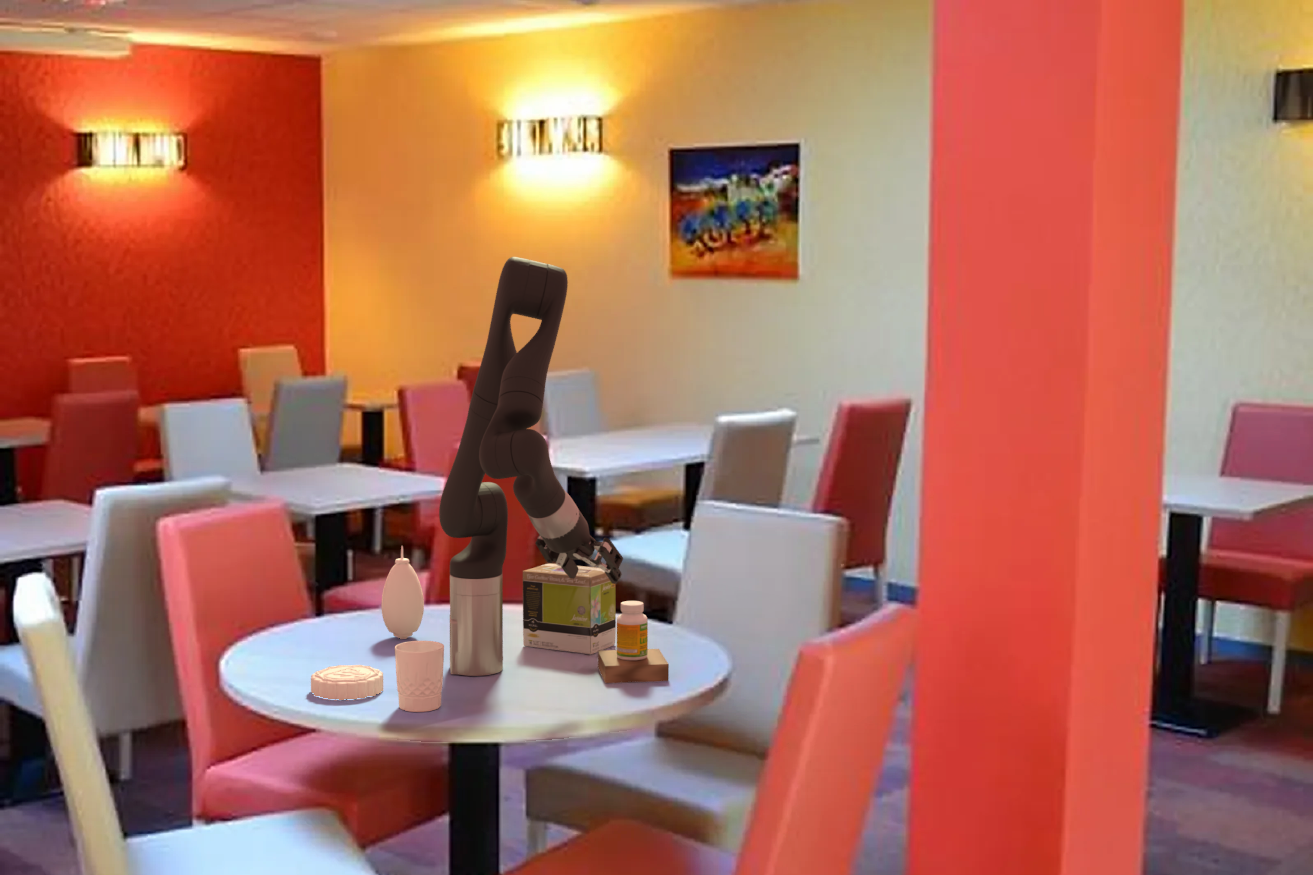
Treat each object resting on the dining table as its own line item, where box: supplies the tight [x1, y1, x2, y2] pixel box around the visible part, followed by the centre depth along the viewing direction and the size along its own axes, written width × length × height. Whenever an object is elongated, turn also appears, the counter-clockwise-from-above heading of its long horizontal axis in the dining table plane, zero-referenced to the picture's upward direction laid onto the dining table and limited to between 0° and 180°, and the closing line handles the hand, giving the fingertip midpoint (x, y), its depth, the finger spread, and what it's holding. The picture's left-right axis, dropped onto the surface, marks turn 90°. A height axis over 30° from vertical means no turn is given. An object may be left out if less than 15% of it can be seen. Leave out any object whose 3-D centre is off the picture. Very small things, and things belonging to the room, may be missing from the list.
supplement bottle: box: [616, 600, 649, 661], centre depth 277 cm, size 5×5×10 cm
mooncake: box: [310, 664, 384, 700], centre depth 265 cm, size 12×12×4 cm
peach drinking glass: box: [394, 640, 445, 713], centre depth 256 cm, size 8×8×10 cm
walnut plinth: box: [597, 648, 670, 684], centre depth 278 cm, size 11×11×3 cm
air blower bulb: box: [380, 545, 425, 640], centre depth 302 cm, size 8×8×18 cm
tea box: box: [522, 562, 617, 655], centre depth 297 cm, size 15×10×15 cm, turn 62°
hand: (595, 576), depth 266 cm, fingers open, 8 cm apart
